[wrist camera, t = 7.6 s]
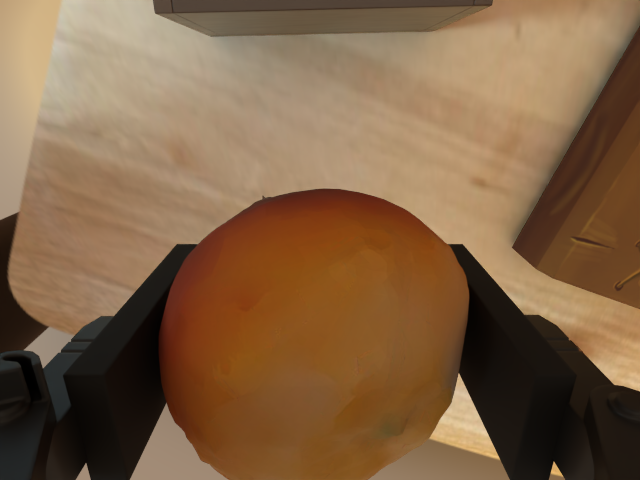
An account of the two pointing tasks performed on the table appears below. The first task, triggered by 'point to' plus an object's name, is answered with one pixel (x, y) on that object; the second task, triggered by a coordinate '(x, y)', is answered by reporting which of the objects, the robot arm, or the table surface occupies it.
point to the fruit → (313, 338)
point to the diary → (595, 197)
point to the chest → (315, 15)
